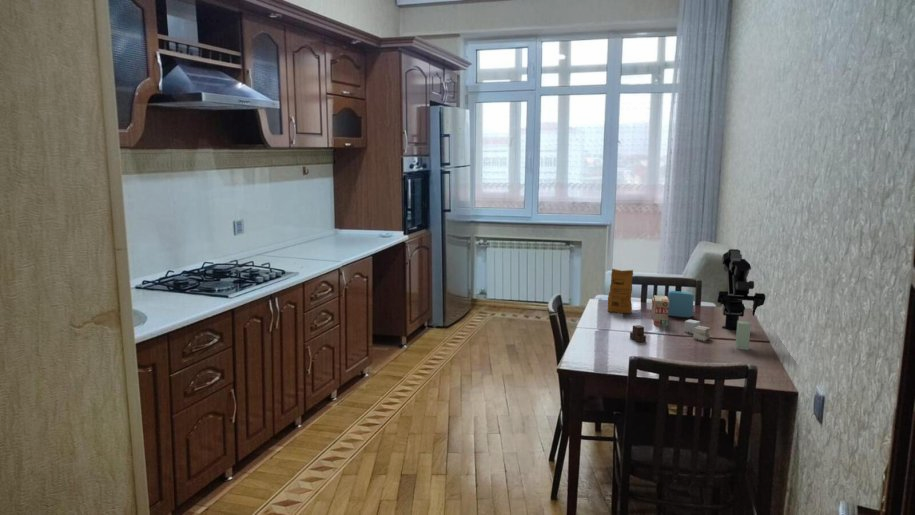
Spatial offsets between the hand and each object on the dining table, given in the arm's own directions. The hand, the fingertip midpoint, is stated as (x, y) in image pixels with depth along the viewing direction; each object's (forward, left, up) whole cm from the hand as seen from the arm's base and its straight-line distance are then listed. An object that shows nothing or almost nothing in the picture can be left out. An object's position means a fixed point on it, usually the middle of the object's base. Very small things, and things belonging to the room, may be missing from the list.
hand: (741, 314), depth 274 cm
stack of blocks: (-11, -43, -13) cm, 47 cm away
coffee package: (-14, -67, -13) cm, 69 cm away
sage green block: (+6, +3, -13) cm, 14 cm away
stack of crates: (+26, -32, -14) cm, 44 cm away
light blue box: (-28, -41, -13) cm, 51 cm away
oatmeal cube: (+5, -15, -13) cm, 20 cm away
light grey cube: (-3, -23, -13) cm, 26 cm away
